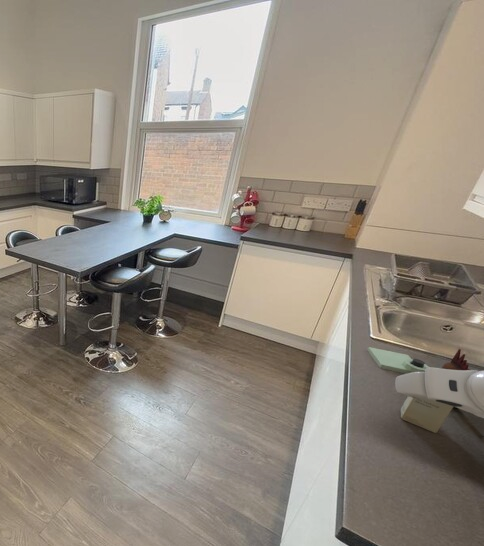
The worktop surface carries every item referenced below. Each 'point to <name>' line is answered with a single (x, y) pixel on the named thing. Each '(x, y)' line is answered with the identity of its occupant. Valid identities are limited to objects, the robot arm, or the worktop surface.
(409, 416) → the cosmetic box
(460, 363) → the wooden figurine
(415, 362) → the tare button
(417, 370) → the kitchen scale
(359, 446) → the worktop surface
